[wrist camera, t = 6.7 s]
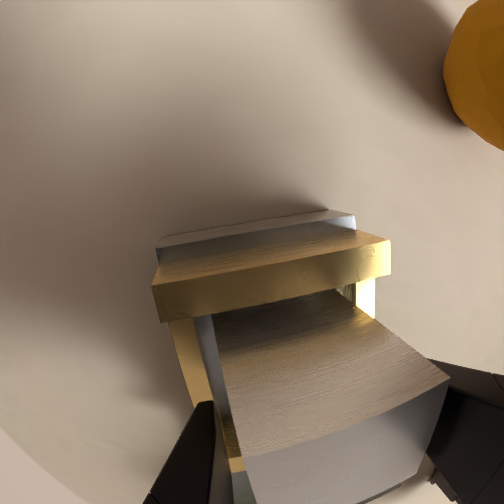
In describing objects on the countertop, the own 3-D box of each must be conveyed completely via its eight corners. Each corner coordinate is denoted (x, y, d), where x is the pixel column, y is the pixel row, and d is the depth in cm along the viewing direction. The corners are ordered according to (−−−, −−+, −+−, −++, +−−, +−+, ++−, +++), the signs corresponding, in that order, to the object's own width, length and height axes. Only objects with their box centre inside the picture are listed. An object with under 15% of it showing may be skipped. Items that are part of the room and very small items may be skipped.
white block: (326, 283, 10) (450, 377, 4) (330, 380, 11) (409, 487, 5) (209, 308, 10) (242, 458, 4) (232, 406, 11) (270, 540, 5)
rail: (330, 209, 12) (504, 255, 4) (329, 489, 17) (370, 567, 9) (162, 237, 11) (103, 355, 3) (243, 512, 16) (268, 598, 8)
